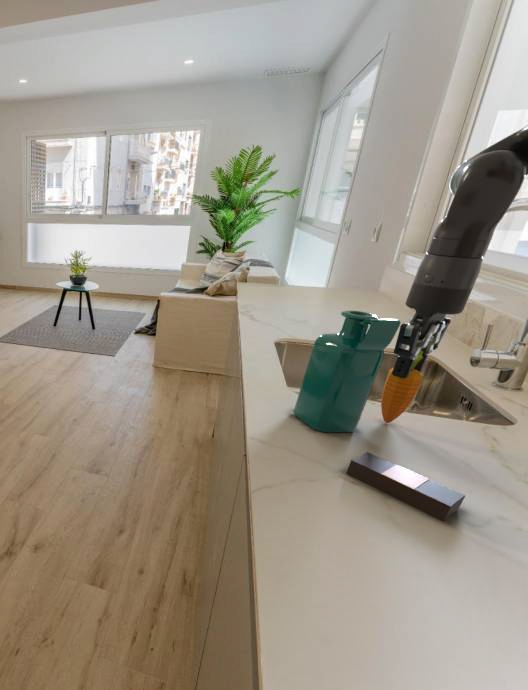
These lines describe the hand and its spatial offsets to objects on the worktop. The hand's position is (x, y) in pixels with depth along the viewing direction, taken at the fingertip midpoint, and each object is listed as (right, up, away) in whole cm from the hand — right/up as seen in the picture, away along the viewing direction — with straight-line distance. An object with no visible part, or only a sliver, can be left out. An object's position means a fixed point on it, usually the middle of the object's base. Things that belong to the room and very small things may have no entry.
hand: (406, 373), depth 79 cm
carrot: (0, -10, +4) cm, 11 cm away
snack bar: (-15, -17, -15) cm, 28 cm away
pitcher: (-13, -10, +3) cm, 16 cm away
